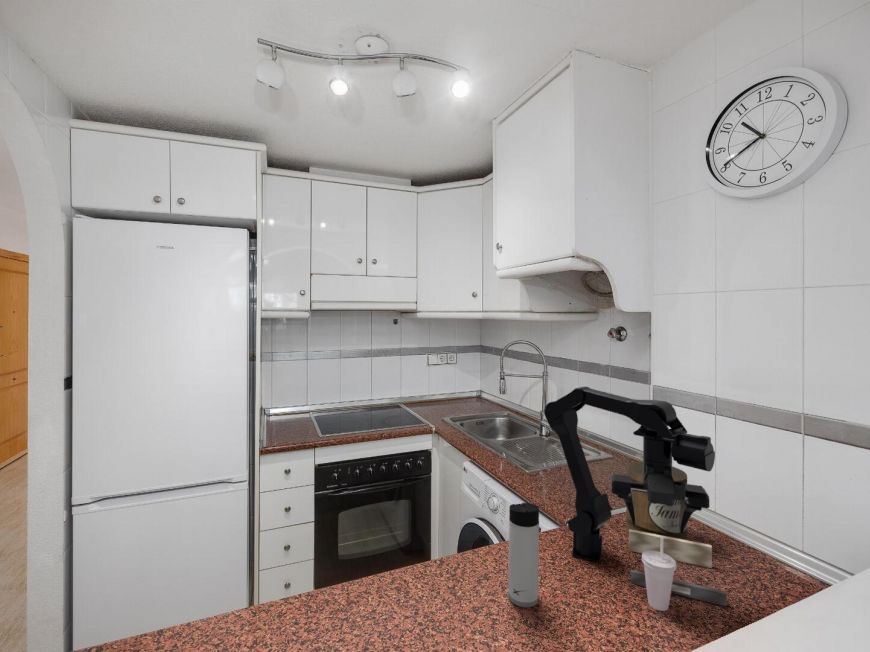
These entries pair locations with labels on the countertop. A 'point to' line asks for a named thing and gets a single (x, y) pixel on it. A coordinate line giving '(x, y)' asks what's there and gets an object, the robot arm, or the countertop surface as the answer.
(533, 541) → the travel mug
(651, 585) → the smoothie
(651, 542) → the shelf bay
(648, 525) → the wooden container
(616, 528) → the countertop surface
